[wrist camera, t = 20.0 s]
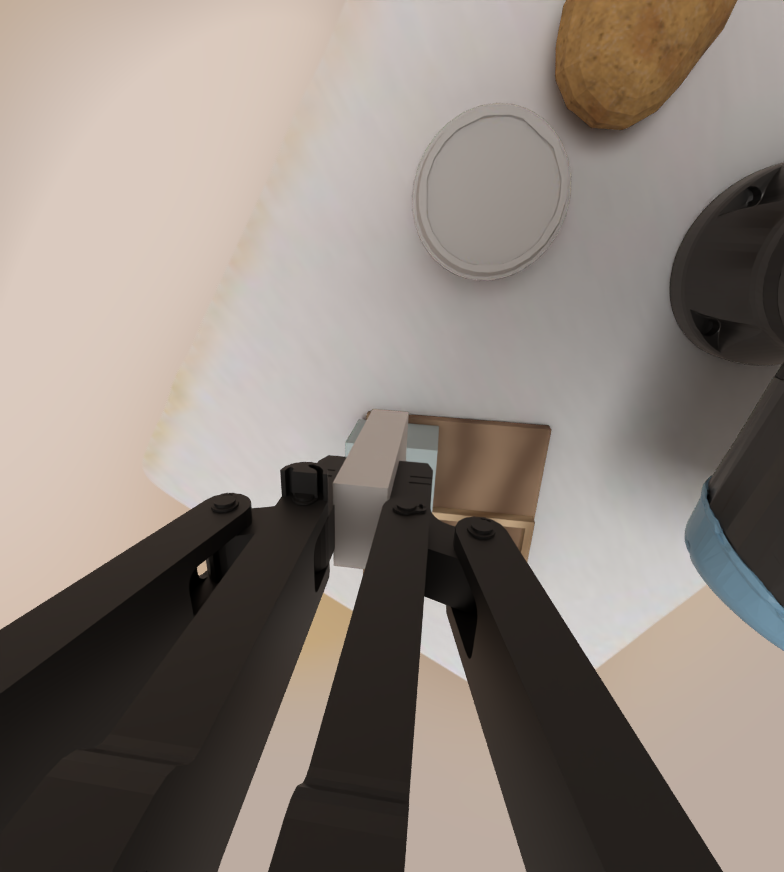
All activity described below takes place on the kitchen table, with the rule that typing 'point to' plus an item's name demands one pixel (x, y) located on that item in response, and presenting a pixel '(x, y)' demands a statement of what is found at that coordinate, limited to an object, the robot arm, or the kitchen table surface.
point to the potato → (631, 54)
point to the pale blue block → (411, 445)
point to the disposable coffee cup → (491, 191)
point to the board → (488, 472)
